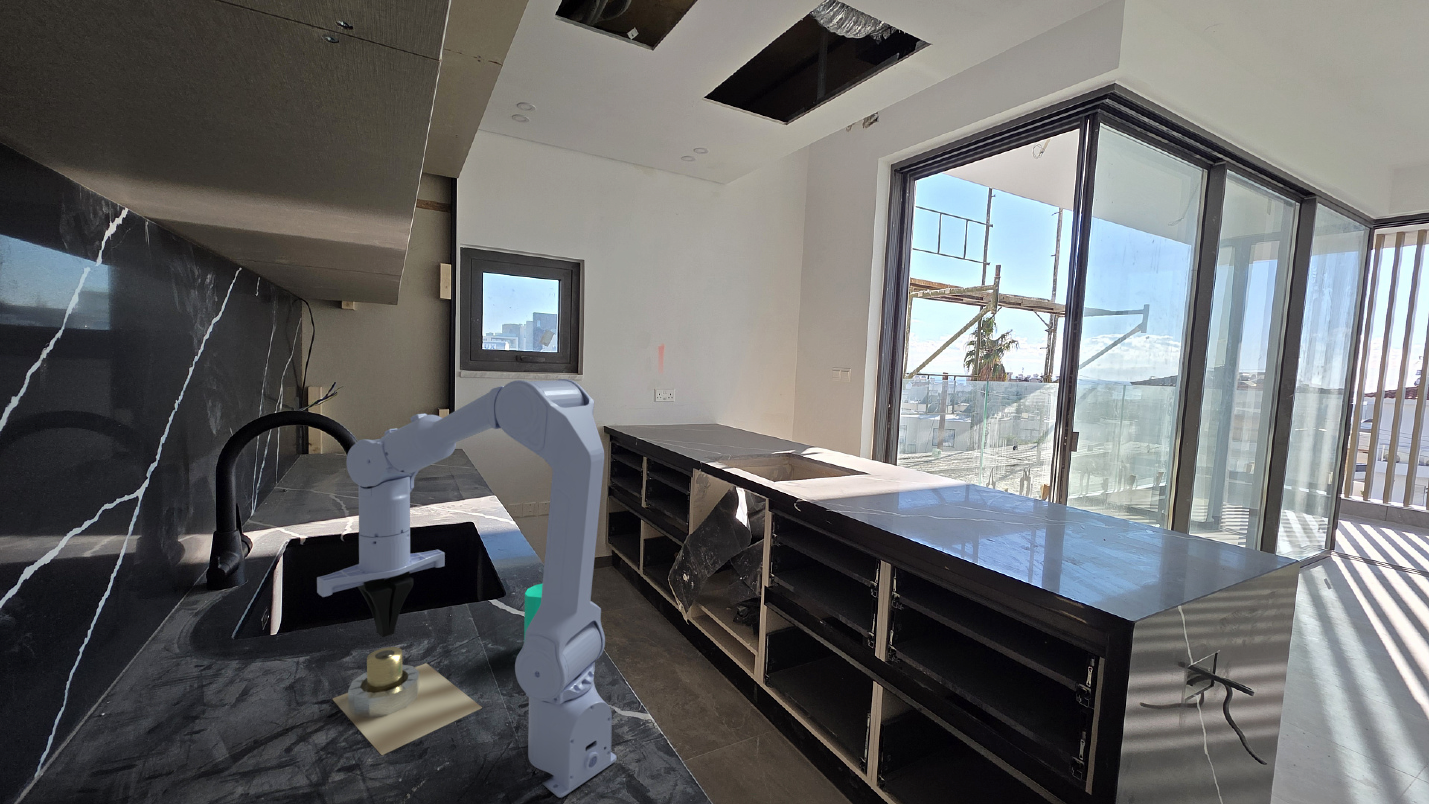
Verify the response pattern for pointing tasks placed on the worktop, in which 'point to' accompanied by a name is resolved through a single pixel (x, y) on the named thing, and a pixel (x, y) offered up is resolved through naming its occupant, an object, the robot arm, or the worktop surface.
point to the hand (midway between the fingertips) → (385, 633)
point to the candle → (532, 604)
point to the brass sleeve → (384, 669)
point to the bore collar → (383, 695)
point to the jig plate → (414, 713)
